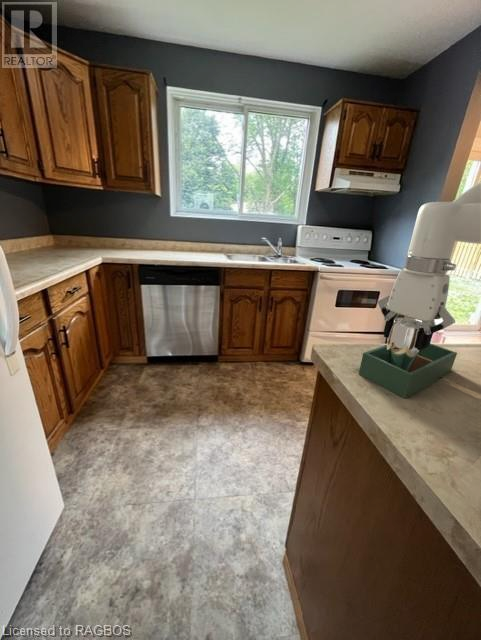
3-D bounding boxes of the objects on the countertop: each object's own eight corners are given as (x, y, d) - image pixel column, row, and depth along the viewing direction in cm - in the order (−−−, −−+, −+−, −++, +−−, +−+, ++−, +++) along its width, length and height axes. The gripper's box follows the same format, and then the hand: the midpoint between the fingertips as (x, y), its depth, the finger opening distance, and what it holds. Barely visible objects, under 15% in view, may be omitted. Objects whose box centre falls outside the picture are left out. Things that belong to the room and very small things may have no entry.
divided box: (405, 354, 80) (410, 336, 78) (450, 373, 71) (457, 352, 69) (358, 373, 68) (363, 352, 66) (404, 398, 59) (412, 375, 57)
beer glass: (392, 370, 71) (407, 316, 66) (416, 384, 65) (435, 326, 60) (372, 374, 69) (385, 318, 64) (395, 389, 63) (412, 329, 57)
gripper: (482, 271, 52) (453, 354, 58) (394, 259, 66) (378, 327, 72) (467, 274, 48) (437, 362, 55) (376, 260, 62) (361, 332, 68)
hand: (404, 341), depth 63 cm, fingers closed on beer glass, 7 cm apart
